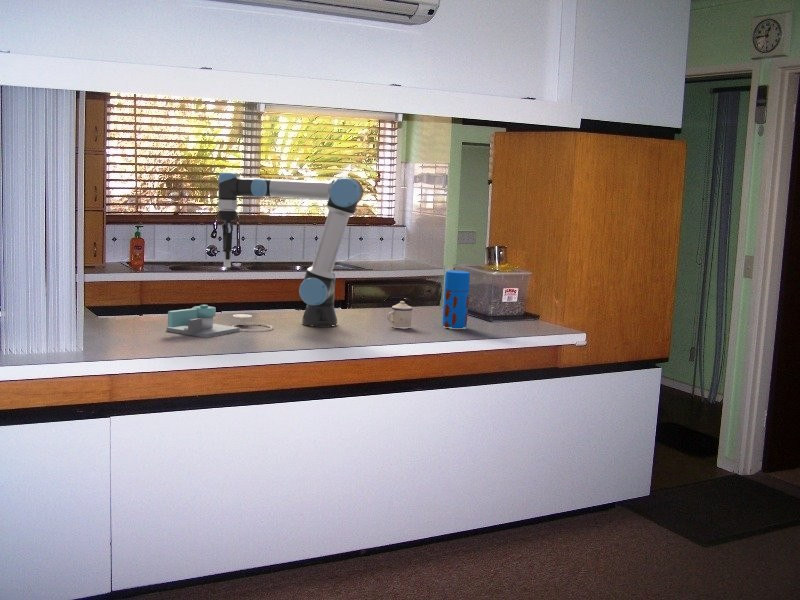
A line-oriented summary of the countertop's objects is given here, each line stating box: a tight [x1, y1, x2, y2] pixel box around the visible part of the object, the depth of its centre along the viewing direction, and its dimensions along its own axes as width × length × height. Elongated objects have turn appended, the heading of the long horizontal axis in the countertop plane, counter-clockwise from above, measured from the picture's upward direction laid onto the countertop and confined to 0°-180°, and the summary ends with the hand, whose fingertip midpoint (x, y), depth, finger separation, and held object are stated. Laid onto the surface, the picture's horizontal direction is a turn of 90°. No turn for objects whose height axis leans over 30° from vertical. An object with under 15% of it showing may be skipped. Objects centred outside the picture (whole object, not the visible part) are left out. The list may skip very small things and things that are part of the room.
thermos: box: [442, 270, 471, 328], centre depth 380 cm, size 11×11×25 cm
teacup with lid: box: [386, 300, 413, 327], centre depth 373 cm, size 12×9×12 cm
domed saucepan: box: [167, 304, 217, 327], centre depth 334 cm, size 22×9×7 cm, turn 145°
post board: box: [166, 317, 241, 339], centre depth 338 cm, size 20×23×6 cm
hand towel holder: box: [231, 313, 274, 333], centre depth 354 cm, size 17×4×21 cm
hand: (227, 267), depth 358 cm, fingers closed
